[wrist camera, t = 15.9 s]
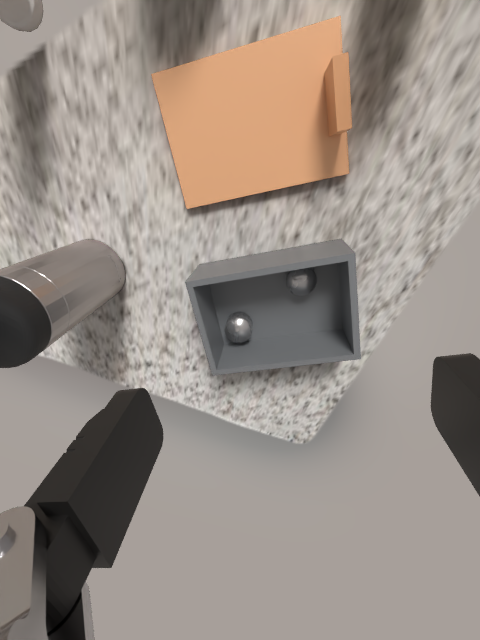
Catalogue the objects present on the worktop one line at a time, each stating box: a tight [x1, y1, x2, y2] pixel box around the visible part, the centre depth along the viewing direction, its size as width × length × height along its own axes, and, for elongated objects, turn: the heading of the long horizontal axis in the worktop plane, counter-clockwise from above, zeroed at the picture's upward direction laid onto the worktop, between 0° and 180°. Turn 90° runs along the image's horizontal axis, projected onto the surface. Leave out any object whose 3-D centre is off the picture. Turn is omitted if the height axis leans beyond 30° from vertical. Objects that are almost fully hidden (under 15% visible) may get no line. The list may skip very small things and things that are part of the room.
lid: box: [151, 16, 352, 209], centre depth 34 cm, size 21×15×7 cm
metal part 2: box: [286, 267, 317, 296], centre depth 42 cm, size 4×4×2 cm
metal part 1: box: [225, 312, 253, 343], centre depth 46 cm, size 4×4×2 cm
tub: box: [185, 239, 361, 376], centre depth 42 cm, size 20×14×8 cm
